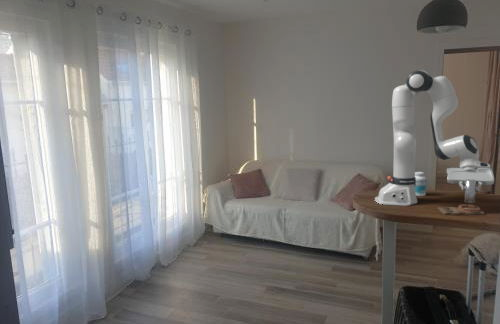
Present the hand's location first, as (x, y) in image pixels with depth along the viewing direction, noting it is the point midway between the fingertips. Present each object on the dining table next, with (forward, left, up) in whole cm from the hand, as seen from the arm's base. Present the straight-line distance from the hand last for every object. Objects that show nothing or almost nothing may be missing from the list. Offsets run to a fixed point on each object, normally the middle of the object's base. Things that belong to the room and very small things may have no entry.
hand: (470, 190), depth 180 cm
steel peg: (0, +1, -6) cm, 6 cm away
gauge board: (-4, +1, -11) cm, 12 cm away
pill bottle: (-14, +35, -11) cm, 39 cm away
